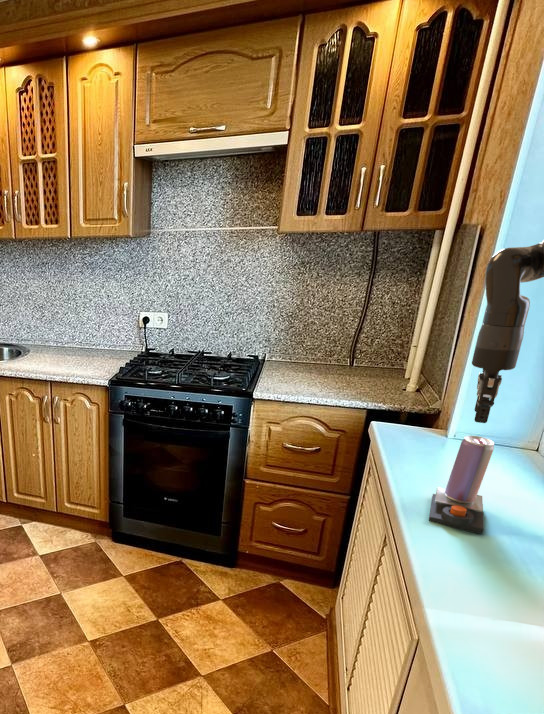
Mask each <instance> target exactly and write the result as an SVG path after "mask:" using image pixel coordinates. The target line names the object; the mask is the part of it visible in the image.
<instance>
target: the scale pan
mask: <svg viewBox="0 0 544 714" xmlns="http://www.w3.org/2000/svg"><path fill="white" fill-rule="evenodd" d="M445 490H446V487H439V486H437V487H436V491H435V494H436V498H435V503H440V504H445V505H449V506H454V505H457V506H461V507H464V508H466V509H468V510H473V511H477V512H483V513H484V503H483V502H484V501H483V495H480V494H477V496H476V499H475V501H473V502H472V503H460V502H456V501H454V500H451V499H450V498H448V497H447V496H446V494H445Z"/></svg>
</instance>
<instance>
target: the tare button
mask: <svg viewBox="0 0 544 714" xmlns="http://www.w3.org/2000/svg"><path fill="white" fill-rule="evenodd" d="M466 511H467V510H466V508H464V507H461V506H457V505H454V506H452V507H451V511H450V513H451V514H453V515H456V516H460V517H465V515H466Z"/></svg>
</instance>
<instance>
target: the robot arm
mask: <svg viewBox="0 0 544 714" xmlns="http://www.w3.org/2000/svg"><path fill="white" fill-rule="evenodd" d="M484 277H485V278H484V280H485V296H486V297H485V298H486V307H485V311H484V315H483V319H482V323H481V326H480V328H479V331H478V334H477V337H476V342H475V347H474V351H473V355H472V360H471V366H473V367H475V368H478V369H482V372H481V373H480V372H479V373H478V376H477V384H476V390H477V392H476V397H477V398H476V401H475V405H474V412H475V415H474V422H475V423H479V424H486V423H487V422H488V419H489V417H490V416H489V415H490V412H491V408H492V407H494V405H495V399H496V398H497V396H498V394H499V388H500V386H501V384H502V381H503V377H502V375H501V374H500V371H510V370H511V371H512V370H514V369H515V368H516V366H517V362H518V358H519V355H520V351H521V346H522V343H523V340H524V334H525V325H526V321H527V318H528V314H529V310H530V306H531V305H530V304H531V302H530V299H529V298H528V297H527V296H525V295H521V284H522V283H529V282H533V281H538V280H540V279H543V278H544V239H543V240H542V242H539V243H536V244H533V245H530V246H516V247H513V246H512V247H506V248H502V249H500V250H498V251H497V252H495V253H494V254H493V255H492V257H491V258H490V259H489V261H488V263H487V265H486V268H485V274H484Z"/></svg>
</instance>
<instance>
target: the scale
mask: <svg viewBox="0 0 544 714" xmlns="http://www.w3.org/2000/svg"><path fill="white" fill-rule="evenodd" d="M435 498H436V493H432V495H431V502H430V508H429V516H428V522H431V523H435V524H439V525H442V526H447V527H450V528H454V529H457V530H462V531H466V532H471V533H475V534H480V535H483V533H484V530H485V527H484V511H483V512H477V511H473V510H468V509H466V510H467V511H466V515H465V517H460V516H456V515H453V514H451V513H450V511H451V507H452V506H449V505H445V504H440V503H435Z"/></svg>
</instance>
